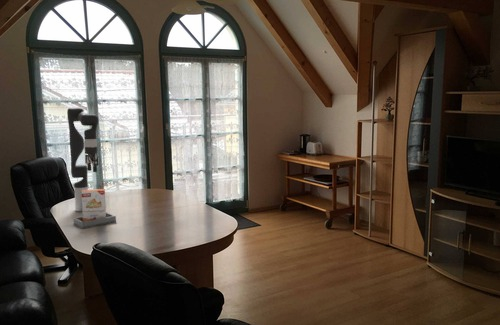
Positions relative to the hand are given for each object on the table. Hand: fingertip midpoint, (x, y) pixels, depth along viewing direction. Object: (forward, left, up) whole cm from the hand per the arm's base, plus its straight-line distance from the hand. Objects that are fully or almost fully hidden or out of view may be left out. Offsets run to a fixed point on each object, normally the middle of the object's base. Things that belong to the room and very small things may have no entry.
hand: (92, 171), depth 265 cm
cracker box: (0, 0, -33) cm, 33 cm away
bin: (0, 0, -34) cm, 34 cm away
